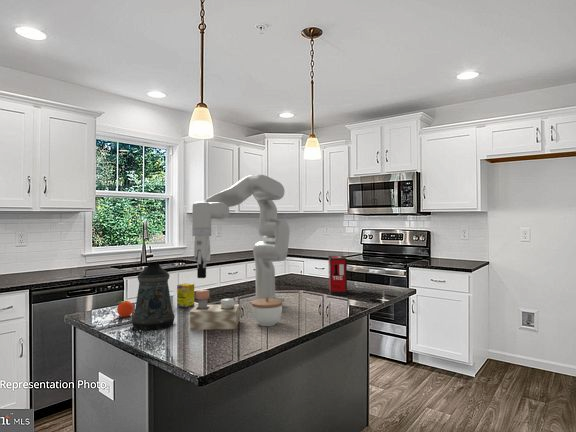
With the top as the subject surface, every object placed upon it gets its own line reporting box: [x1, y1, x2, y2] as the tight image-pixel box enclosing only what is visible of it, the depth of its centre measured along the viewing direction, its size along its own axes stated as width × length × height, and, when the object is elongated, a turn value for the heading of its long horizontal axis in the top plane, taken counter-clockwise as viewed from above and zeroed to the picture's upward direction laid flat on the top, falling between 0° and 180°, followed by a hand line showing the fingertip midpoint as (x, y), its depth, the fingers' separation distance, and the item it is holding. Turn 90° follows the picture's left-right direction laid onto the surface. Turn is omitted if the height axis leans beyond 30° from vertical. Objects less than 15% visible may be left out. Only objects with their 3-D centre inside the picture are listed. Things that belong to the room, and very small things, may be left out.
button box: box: [189, 303, 240, 331], centre depth 162 cm, size 18×12×7 cm, turn 91°
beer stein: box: [131, 262, 175, 332], centre depth 163 cm, size 16×19×25 cm
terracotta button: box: [195, 289, 210, 310], centre depth 162 cm, size 5×5×9 cm
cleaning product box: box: [328, 255, 348, 296], centre depth 228 cm, size 16×9×20 cm, turn 178°
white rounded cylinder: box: [220, 298, 235, 309], centre depth 162 cm, size 5×5×9 cm
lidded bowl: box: [251, 297, 283, 327], centre depth 163 cm, size 13×13×11 cm
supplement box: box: [176, 282, 195, 309], centre depth 195 cm, size 6×6×11 cm
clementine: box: [116, 300, 135, 318], centre depth 177 cm, size 8×7×7 cm
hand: (201, 277), depth 161 cm, fingers closed
